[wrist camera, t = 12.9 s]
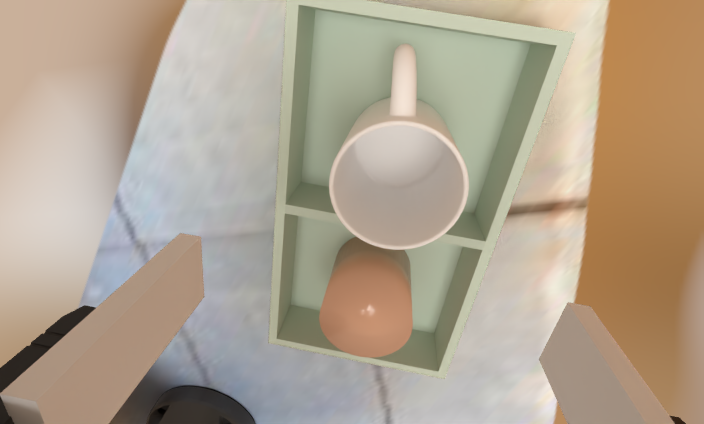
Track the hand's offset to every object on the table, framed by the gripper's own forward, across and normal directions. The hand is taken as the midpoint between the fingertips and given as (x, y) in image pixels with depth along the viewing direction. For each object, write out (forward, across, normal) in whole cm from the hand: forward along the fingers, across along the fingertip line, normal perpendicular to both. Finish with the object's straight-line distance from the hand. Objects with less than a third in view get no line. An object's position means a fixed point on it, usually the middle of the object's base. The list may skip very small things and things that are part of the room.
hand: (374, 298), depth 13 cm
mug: (+20, +1, +2) cm, 20 cm away
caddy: (+21, +1, -5) cm, 21 cm away
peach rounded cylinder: (+20, +1, -12) cm, 23 cm away
